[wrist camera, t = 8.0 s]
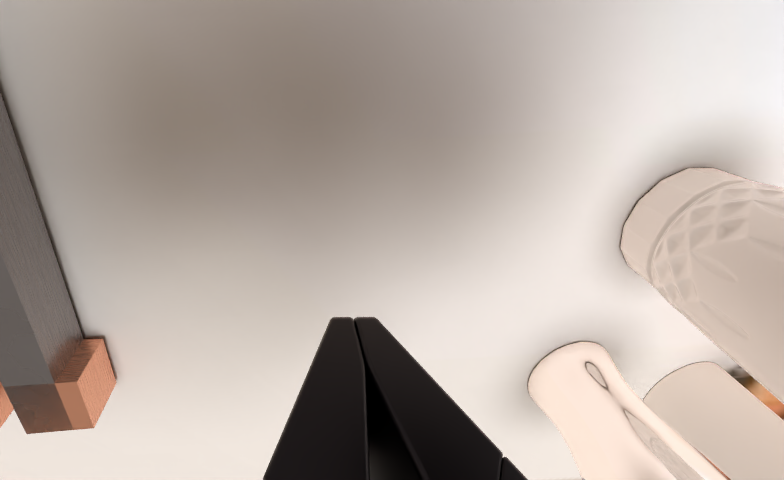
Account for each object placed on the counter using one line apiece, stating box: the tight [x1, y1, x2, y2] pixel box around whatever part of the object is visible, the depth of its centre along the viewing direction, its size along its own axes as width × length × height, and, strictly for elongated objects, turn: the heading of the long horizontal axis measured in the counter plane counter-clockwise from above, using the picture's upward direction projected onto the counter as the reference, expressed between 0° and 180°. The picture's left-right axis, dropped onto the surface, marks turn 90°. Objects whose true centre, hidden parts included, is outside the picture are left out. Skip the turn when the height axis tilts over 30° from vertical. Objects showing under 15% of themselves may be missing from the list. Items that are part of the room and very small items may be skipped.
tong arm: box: [0, 93, 116, 434], centre depth 14 cm, size 19×3×3 cm, turn 173°
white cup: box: [620, 168, 784, 404], centre depth 19 cm, size 8×8×10 cm
